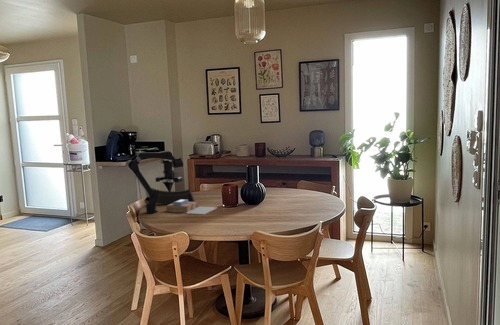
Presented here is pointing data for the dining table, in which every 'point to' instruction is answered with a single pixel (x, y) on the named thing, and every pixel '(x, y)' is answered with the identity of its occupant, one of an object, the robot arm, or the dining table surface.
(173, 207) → the board
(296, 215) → the dining table surface
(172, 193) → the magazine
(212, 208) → the mat
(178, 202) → the card box
